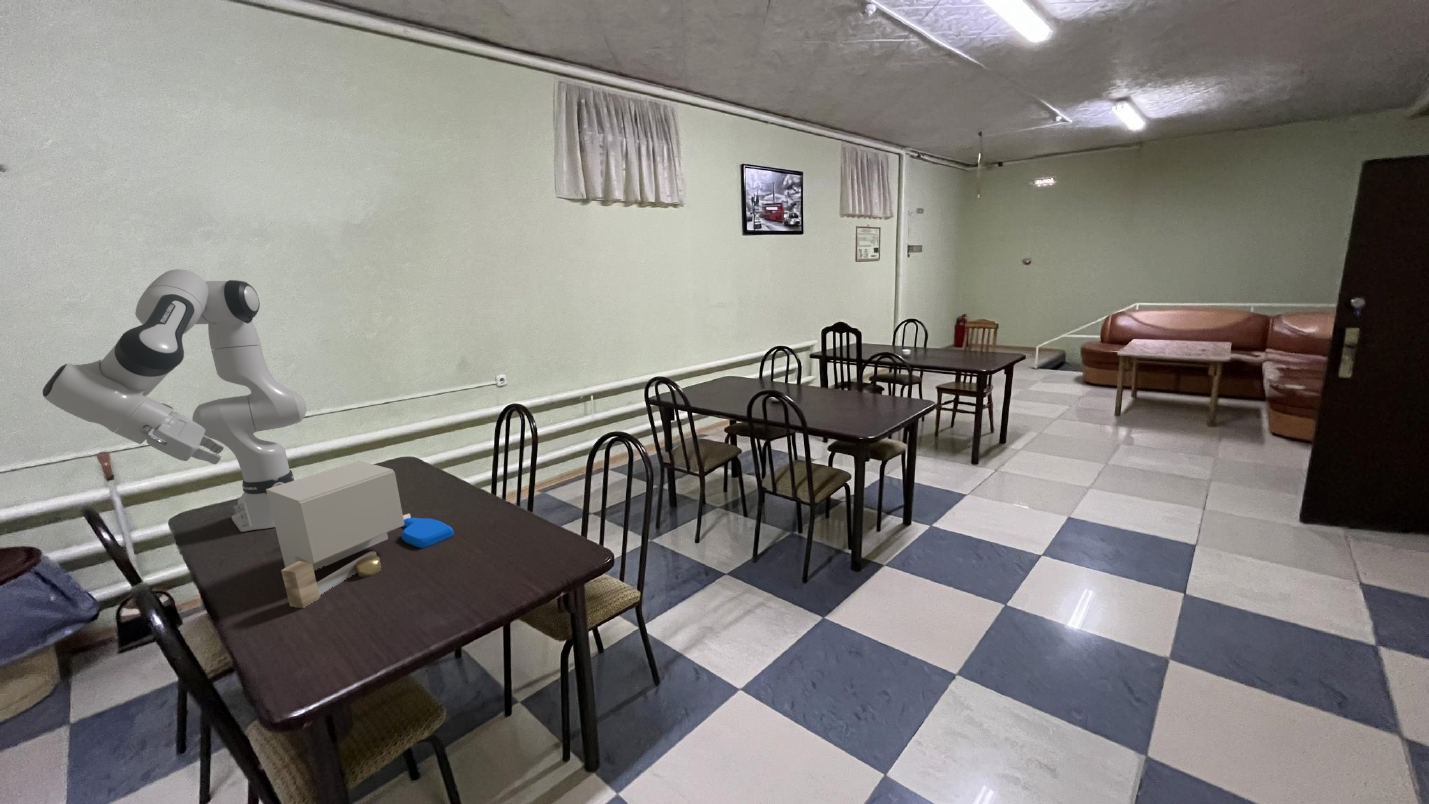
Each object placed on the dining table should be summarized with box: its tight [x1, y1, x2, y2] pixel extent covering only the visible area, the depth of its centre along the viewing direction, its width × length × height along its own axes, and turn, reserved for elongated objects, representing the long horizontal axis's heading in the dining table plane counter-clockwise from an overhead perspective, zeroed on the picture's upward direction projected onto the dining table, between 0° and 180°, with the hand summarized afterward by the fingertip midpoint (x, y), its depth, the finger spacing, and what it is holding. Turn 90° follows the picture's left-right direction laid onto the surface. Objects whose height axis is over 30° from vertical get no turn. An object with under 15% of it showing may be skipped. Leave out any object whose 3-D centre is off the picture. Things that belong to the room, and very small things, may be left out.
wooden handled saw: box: [280, 550, 378, 609], centre depth 134 cm, size 4×21×9 cm, turn 164°
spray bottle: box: [400, 513, 455, 549], centre depth 160 cm, size 3×11×24 cm
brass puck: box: [356, 555, 382, 578], centre depth 139 cm, size 5×5×3 cm
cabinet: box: [266, 460, 404, 572], centre depth 144 cm, size 17×22×22 cm
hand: (220, 455), depth 126 cm, fingers open, 8 cm apart
